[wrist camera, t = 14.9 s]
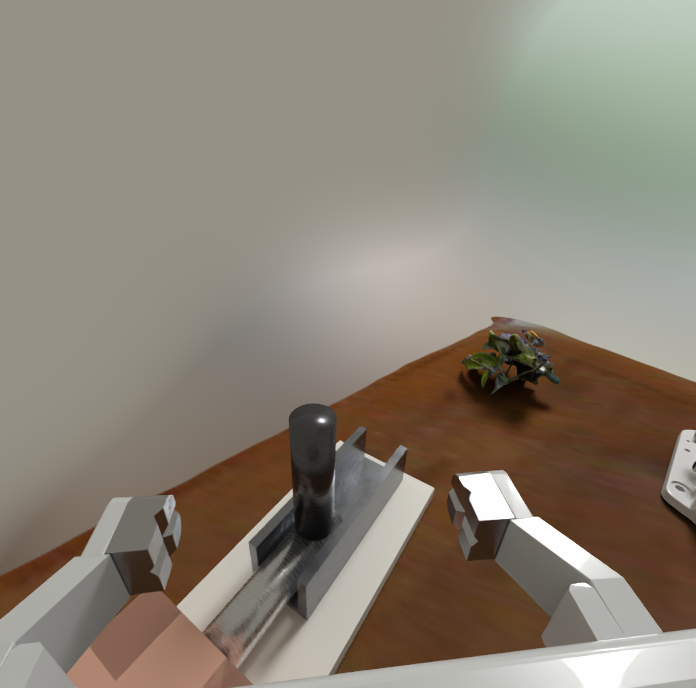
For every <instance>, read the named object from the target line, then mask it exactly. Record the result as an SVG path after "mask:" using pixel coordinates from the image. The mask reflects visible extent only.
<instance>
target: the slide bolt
mask: <svg viewBox="0 0 696 688" xmlns="http://www.w3.org/2000/svg"><path fill="white" fill-rule="evenodd" d="M289 432H290V451H291V469H292V488H293V506H294V524H295V527H294V528H293V529H292V530H291V531H290V532H289V533H288V535H287V536H286V537H285V538H284V539H283V540H282V541H281V543H280V544H279V545H278V546H277V547H276V548H275V549H274V551H273V552H272V553H271V554H270V555H269V556H268V557H267V558H266V560H265V561H264V562H263V563H262V564H261V565H260V566H259V568H258V569H257V570H256V571H255V572H254V573H253V574H252V576H251V577H250V578H249V579H248V580H247V581H246V582H245V583H244V585H243V586H242V587H241V588H240V589H239V590H238V591H237V593H236V594H235V595H234V596H233V597H232V598H231V599H230V601H229V602H228V603H227V604H226V605H225V606H224V607H223V608H222V610H221V611H220V612H219V613H218V614H217V615H216V616H215V618H214V619H213V620H212V621H211V622H210V623H209V624H208V626H207V627H206V628H205V629H204V630H203V631H202V633H203V634H204V635H205V636H206V637H207V638H208V639H209V640H210V641H211V642H212V643H213V644H214V645H215V646H216V647H217V648H218V649H219V650H220V651H221V652H222V653H223V654H224V655H225V656H226V657H227V658H228V659H229V660H230V661H231V662H232V663H233V665H234V666H235V667H236V668H237V669H238V668H239V667H240V666H241V664H242V663H243V662H244V660H245V659H246V658H247V656H248V655H249V654H250V652H251V651H252V650H253V648H254V647H255V646H256V644H257V643H258V641H259V640H260V639H261V637H262V636H263V635H264V633H265V632H266V631H267V629H268V628H269V627H270V625H271V624H272V623H273V621H274V620H275V619H276V617H277V616H278V615H279V613H280V612H281V611H282V609H283V608H284V607H285V605H286V604H287V603H288V601H289V600H290V599H291V597H292V596H293V595H294V593H295V592H296V591H297V589H298V588H297V579H298V578H299V577H300V575H301V574H302V573H303V571H304V570H305V569H306V568H307V566H308V565H309V564H310V562H311V561H312V560H313V558H314V557H315V556H316V554H317V553H318V552H319V551H320V549H321V548H322V547H323V545H324V544H325V543H326V541H327V540H328V539H329V537H330V536H331V535H332V534H333V532H334V531H335V530H336V528H337V527H338V526H339V524H340V523H341V522H342V521H343V520H342V518H341V516H340V514H339V513H338V512H337V511H336V510H335V509H334V496H335V457H336V414H335V412H334V411H333V410H332V409H331V408H329V407H327V406H325V405H321V404H306V405H302V406H300V407H298V408H296V409H295V410H294V411H293V412H292V413H291V414H290V416H289Z"/></svg>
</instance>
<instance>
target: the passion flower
mask: <svg viewBox="0 0 696 688" xmlns="http://www.w3.org/2000/svg"><path fill="white" fill-rule="evenodd" d="M522 332H523V333H524V334H525V336H526V338H527V339H529V340H531V342H530V343H528V341H527V340H525V341H523V338H521V336H520V337H519V336H518V335H516V334H515V333H514V334H511V335H509V334H507V332H506V334H507V335H506V334H505V335H504V334H502V335H503V336H504V337H502V336H501V335H499V336H500V337H499V336H497V335H495V334H494V333H492V331H489V337H488V339H489V342H487V343H486V344H485V345H483V347H482V350H483V349H495V350H497V351H498V352H499V357H496V354H495V353H494V352H493V353H489V354H488V353H485V352H479V353H476V354H474V355H468V356H467V357H466V358H464V359H463V360H462V364H465V366H466V368H467V370H473V369H482V370H484V369H486V371H485V372H484V374H483V376H482V379H481V385H482V387H483V388H484V385H485V383H486V381H487V379H488V377H489V376H491V375H492V374H495V375H496V376H497V377H496V380H495V388H494V390H493V392H491V393H490V394H489V395H490V396H491V395H492V394H493V393H494V392H496V391H497V390H498V389H499V388H501V387H502V386H503V385H506V384H509V383H510V382H511V381H512V380H513V379H516V378H519V379H520V380H521V381H526V380H527V381H529V382H531V383H533V384H535V385H537V383H538V378H539V377H540V376H546V377H547V378H548V379H549V380H550V381H551V382H553V383H555V384H558V383H560V380H561V379H560V378H558V377H557V376H556V375H554V374H553V372H552V368H553V363H550V362H548V360H547V358H550V357H551V356H549V355H546V354H545V353H539V351H540V349H536V347H534V348H531V346H532V345H533V344H534V346H537V347H538V346H543V347H545V344H546V343H545V342H544V340H543V339H542V338H541V337H538V336H537V335H536V334H535V333H534V332H532V331H528V330H525V329H522ZM501 337H502V338H501ZM504 362H505V363H506V364H507V365H510V367H511V366H512V365H515V366H516V367H517V376H515V377H512V378H508V377H507V373H508V372H509V369H510V367H509V369H508V370H507V372H504V371H503V370H502V364H503V363H504ZM495 370H499V371H500V372H501V373H502V376H501V375H499V374H497V373H496V372H495Z"/></svg>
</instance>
